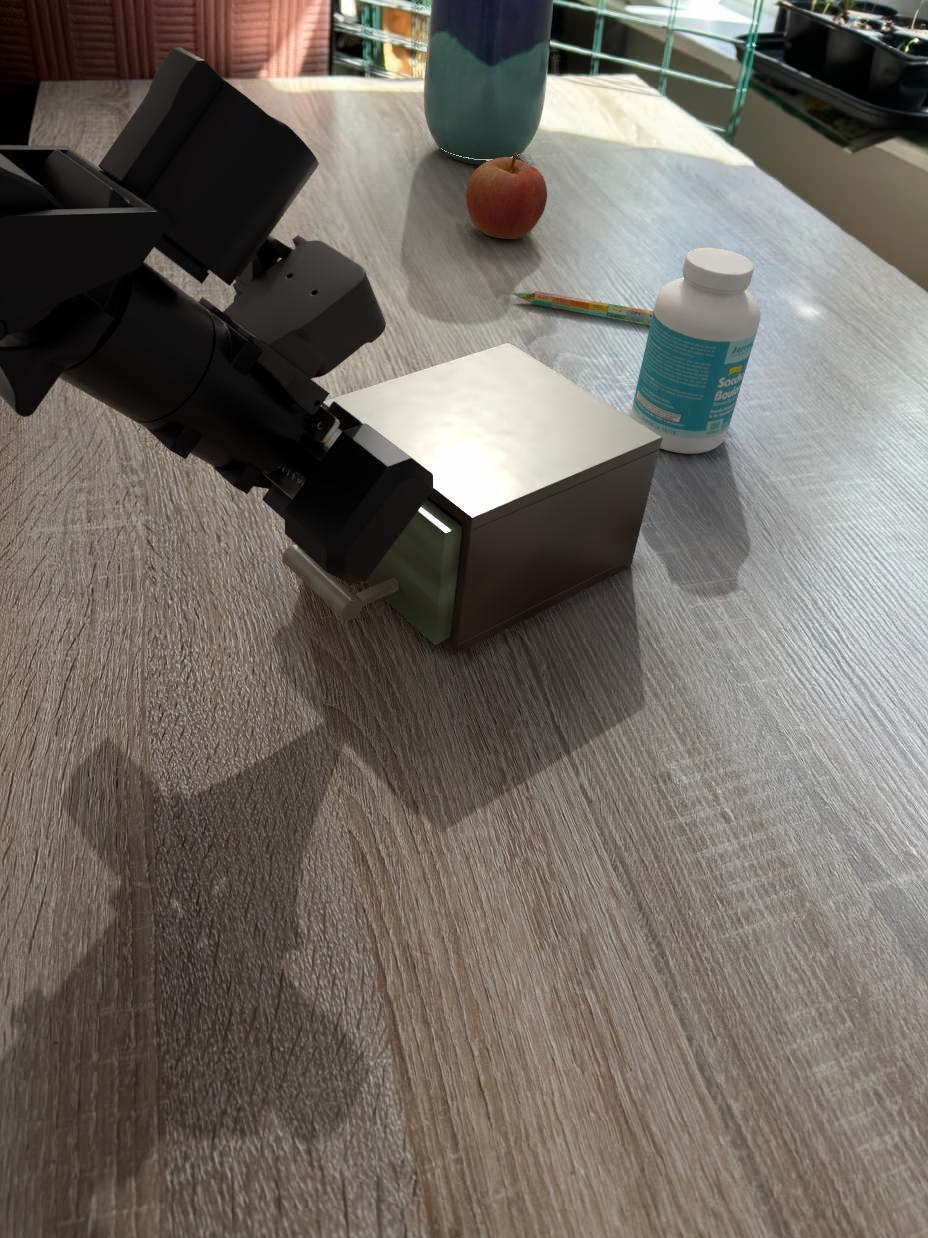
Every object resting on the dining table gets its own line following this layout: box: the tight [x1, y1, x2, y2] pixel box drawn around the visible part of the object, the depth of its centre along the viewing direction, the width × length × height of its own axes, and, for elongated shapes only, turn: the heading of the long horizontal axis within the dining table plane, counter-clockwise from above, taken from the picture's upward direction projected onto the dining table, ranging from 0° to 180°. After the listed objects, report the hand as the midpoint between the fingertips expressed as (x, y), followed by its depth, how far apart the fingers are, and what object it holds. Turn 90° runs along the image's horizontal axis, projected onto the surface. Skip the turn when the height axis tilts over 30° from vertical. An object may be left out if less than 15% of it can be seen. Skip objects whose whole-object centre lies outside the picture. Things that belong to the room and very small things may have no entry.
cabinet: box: [321, 342, 663, 655], centre depth 65 cm, size 15×14×10 cm
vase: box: [423, 0, 554, 166], centre depth 116 cm, size 14×14×31 cm
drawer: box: [281, 497, 462, 646], centre depth 63 cm, size 18×12×8 cm
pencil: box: [511, 290, 653, 325], centre depth 95 cm, size 1×1×18 cm
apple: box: [465, 152, 548, 240], centre depth 105 cm, size 8×8×8 cm
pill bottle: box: [630, 247, 761, 455], centre depth 77 cm, size 8×7×14 cm
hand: (367, 494), depth 58 cm, fingers closed
